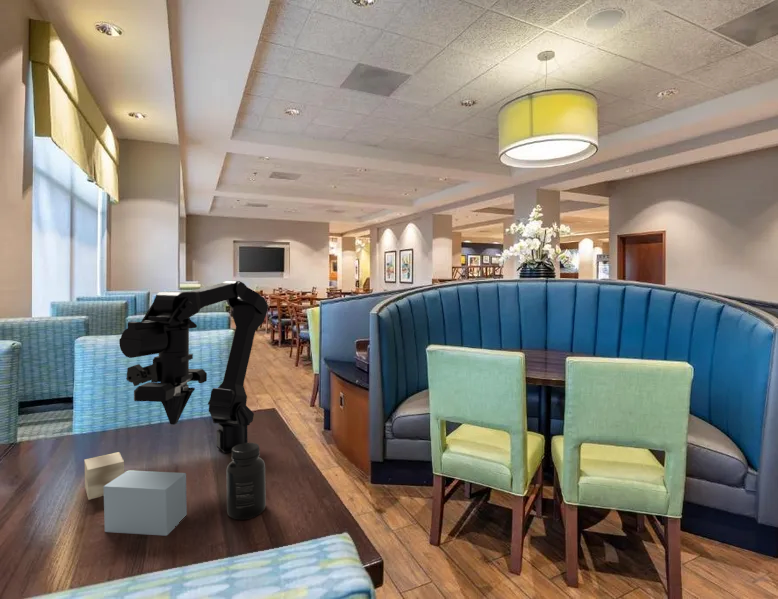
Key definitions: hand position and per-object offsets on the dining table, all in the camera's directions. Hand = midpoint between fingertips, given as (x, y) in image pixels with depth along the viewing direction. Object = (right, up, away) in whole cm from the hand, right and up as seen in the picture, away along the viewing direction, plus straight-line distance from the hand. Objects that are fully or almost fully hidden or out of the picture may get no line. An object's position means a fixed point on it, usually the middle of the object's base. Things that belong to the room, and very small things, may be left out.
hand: (173, 423), depth 90 cm
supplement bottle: (+19, -13, -12) cm, 26 cm away
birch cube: (-12, -12, -4) cm, 18 cm away
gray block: (+3, -13, -16) cm, 21 cm away
